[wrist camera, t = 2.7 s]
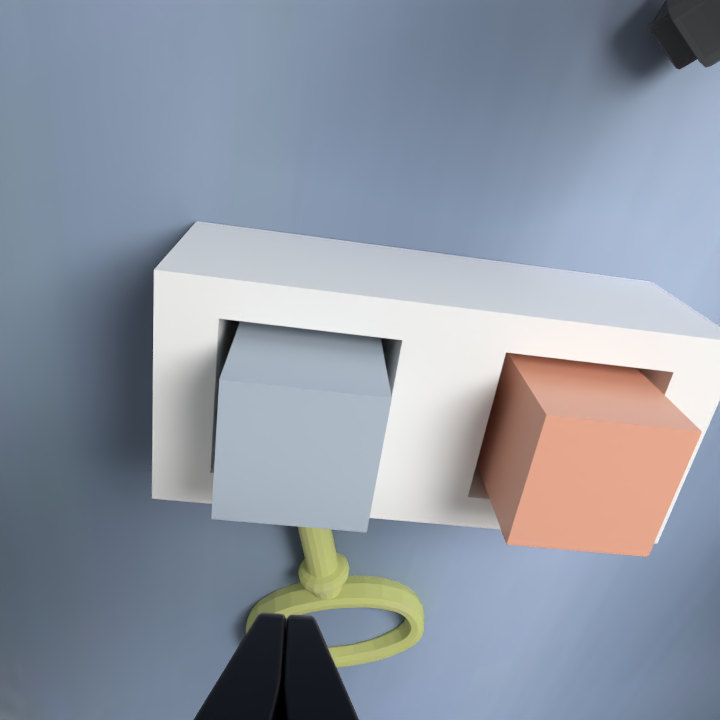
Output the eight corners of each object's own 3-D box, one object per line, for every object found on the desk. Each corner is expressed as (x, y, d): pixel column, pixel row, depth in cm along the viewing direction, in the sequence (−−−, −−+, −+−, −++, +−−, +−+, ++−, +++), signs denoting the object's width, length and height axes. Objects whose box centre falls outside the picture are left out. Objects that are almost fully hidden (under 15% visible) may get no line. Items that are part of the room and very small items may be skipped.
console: (592, 448, 23) (657, 543, 18) (189, 407, 21) (151, 498, 17) (651, 281, 20) (744, 343, 16) (196, 221, 19) (154, 269, 14)
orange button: (580, 452, 20) (647, 556, 15) (468, 441, 19) (506, 544, 15) (616, 347, 18) (702, 431, 14) (495, 333, 18) (546, 414, 14)
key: (305, 397, 22) (302, 429, 20) (438, 622, 27) (446, 666, 25) (130, 474, 23) (111, 512, 21) (289, 677, 28) (286, 723, 26)
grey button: (358, 430, 19) (366, 532, 15) (238, 417, 18) (210, 519, 14) (377, 319, 17) (391, 397, 13) (246, 303, 17) (219, 379, 13)
